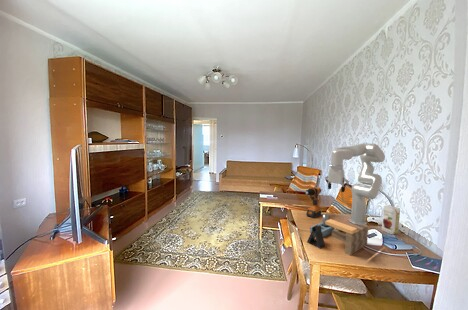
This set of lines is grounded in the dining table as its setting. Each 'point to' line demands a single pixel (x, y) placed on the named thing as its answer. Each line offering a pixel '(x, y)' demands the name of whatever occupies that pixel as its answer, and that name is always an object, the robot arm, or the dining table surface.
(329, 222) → the bar
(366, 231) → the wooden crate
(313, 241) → the black a-frame stand
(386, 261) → the dining table surface
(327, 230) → the rack
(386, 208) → the juice carton
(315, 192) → the power drill
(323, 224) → the drill bit
